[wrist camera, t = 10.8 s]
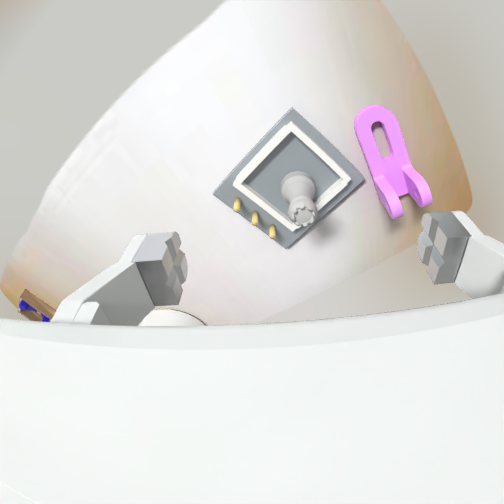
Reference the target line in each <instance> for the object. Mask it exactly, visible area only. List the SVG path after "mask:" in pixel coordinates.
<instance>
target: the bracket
mask: <svg viewBox="0 0 504 504" xmlns="http://www.w3.org/2000/svg"><path fill="white" fill-rule="evenodd" d="M376 121H380V122H381V124H382V127H383V130H384V132H385V135H386V138H387V141H388V144H389V147H390V155H389V156H388V157H386V158H381V156H380V153H379V150H378V147H377V145H376V142H375V139H374V136H373V134H372V131H371V126H372V124H373V123H374V122H376ZM354 130H355V134H356V136H357V139H358V141H359V144H360V146H361V149H362V151H363V154H364V157H365V159H366V162H367V165H368V168H369V170H370V173H371V176H372V179H373V182H374V185H375V188H376V191H377V194H378V197H379V200H380V201H381V203H382V204H383V206H384V207H385V209H386V211H387V212H388V214H389V215H390V217H391V219H392V220H394V219H396V218H399V217H401V216H403V209H402V206H401V203H400V201H399V198H398V197H400V196H402V195H404V194H407V193H409V194H410V195H411V196H412V198H413V199H414V200H415V201H416V203H417V204H418V205H419V206H420V207H421V208H423V207H425V206H428V205H430V204H432V196H431V192H430V189H429V187H428V185H427V183H426V181H425V180H424V178H423V177H422V176H421V175H420V174H419V173H418V172H417V171H416V170H415V169H414V168H413V167H412V166H411V164H410V160H409V157H408V153H407V150H406V146H405V143H404V140H403V137H402V133H401V130H400V127H399V124H398V121H397V119H396V117H395V115H394V114H393V113H392V112H391V111H389V110H388V109H386V108H384V107H382V106H379V105H369V106H366V107H364V108H363V109H362V110H360V111H359V113H358V114H357V116H356V118H355V121H354Z"/></svg>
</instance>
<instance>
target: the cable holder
mask: <svg viewBox="0 0 504 504" xmlns="http://www.w3.org/2000/svg"><path fill="white" fill-rule="evenodd" d="M19 308H20V309H21V310H23V311H25V310H27V311H34V312H37V311H38V310H36V309H35V308H33V307H32V306H30V305H29V304H28V303H26V302H25V301H24V300H22V301H21V302H20V304H19ZM41 315H42V322H50V320H51V319H49V318H48V317H46V316H45V315H43V314H42V313H41Z"/></svg>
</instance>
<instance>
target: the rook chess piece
mask: <svg viewBox="0 0 504 504" xmlns="http://www.w3.org/2000/svg"><path fill="white" fill-rule="evenodd" d="M280 190H281V194H282V197H283V198H284V200H285V201H286V202H287V203H289V210H288V216H289V219H290V220H291V221H292V222H293V223H294V224H295V225H297V226H298V227H299V226H300V225H301V226H303V228H304V227H308V225H309V224H310V223H311V224H313V223H314V220H315V219H316V218H317V214H318V209H317V207H316V205H315V204H314V202H313V200H312V199H313V198H314V195H315V191H316V189H315V183H314V180H313V179H312V177H311V176H310V175H309V174H307V173H305V172H301V171H295V172H290V173H289V174H287V175H286V176H285V177H284V178H283V179H282V181H281V185H280Z"/></svg>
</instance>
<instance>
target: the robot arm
mask: <svg viewBox="0 0 504 504" xmlns="http://www.w3.org/2000/svg"><path fill="white" fill-rule="evenodd" d="M421 226H422V228H423V231H422V233H421V234H420V235H419V237H418V243H417V248H418V255H419V258H420V260H421V261H422V263H423V264H425V265H427V266H428V269H427V273H428V274H429V276H430V278H431V280H432V282H433V283H434V284H443V283H453V282H455V284H456V285H457V286H458V287H460V288H461V289H462V290H463V291H464V292H465V293H467V294H468V295H469V296H470V297H471V298H472V299H470V300H465V301H459V302H453V303H447V304H441V305H435V306H429V307H422V308H415V309H408V310H401V311H393V312H385V313H377V314H369V315H360V316H350V317H340V318H331V319H320V320H306V321H294V322H278V323H263V324H262V323H261V324H240V325H212V326H205V325H204V324H203V323H202V322H201V321H200V320H198V319H196V318H195V317H193V316H191V315H189V314H186V313H183V312H180V311H176V310H168V309H162V310H154V311H152V310H153V309H154V308H155V306H165V305H179V302H180V298H181V295H182V291H183V289H182V287H181V284H183V283H184V282H185V281H186V277H187V260H186V257H185V254H184V253H183V252H182V251H181V250H180V249H179V248H180V245H181V240H180V237H179V234H178V233H177V232H164V233H152V234H141V235H135V236H133V237H132V239H131V241H130V243H129V244H128V246H127V248H126V249H125V251H124V253H123V254H122V256H121V258H120V260H119V261H118V263H117V264H113V265H111V266H110V267H108V268H107V269H105V270H104V271H103V272H101V273H100V274H98V275H97V276H96V277H94V278H93V279H91V280H90V281H89V282H87V283H86V284H84V285H83V286H82V287H80V288H79V289H78V290H76V291H75V292H73V293H72V294H71V295H69V296H68V297H67V298H65V299H64V300H63V301H62V302H61V304H60V306H59V307H58V309H57V311H56V313H55V314H54V316H53V318H52V320H51V321H50V322H39V321H26V320H15V319H6V318H0V504H504V244H502V243H501V242H499V241H497V240H495V239H493V238H491V237H489V236H484V235H483V234H482V232H481V231H479V229H478V228H477V227H476V225H475V224H474V223H473V222H472V221H471V220H470V219H469V218H468V216H467V215H466V214H465V213H464V212H462V211H451V212H437V213H425V214H424V215H423V217H422V221H421Z"/></svg>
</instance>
